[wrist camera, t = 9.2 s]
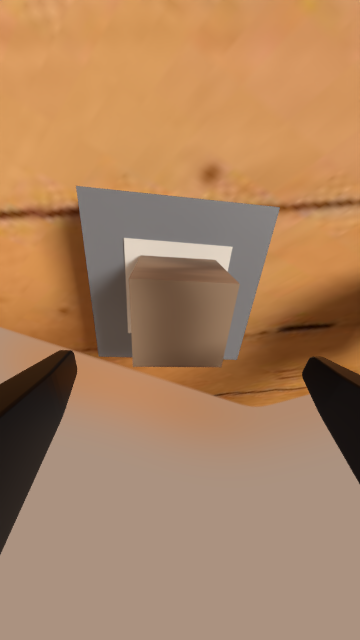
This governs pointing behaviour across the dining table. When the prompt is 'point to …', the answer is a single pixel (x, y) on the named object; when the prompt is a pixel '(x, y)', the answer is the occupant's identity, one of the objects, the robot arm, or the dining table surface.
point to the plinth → (167, 251)
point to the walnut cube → (180, 311)
